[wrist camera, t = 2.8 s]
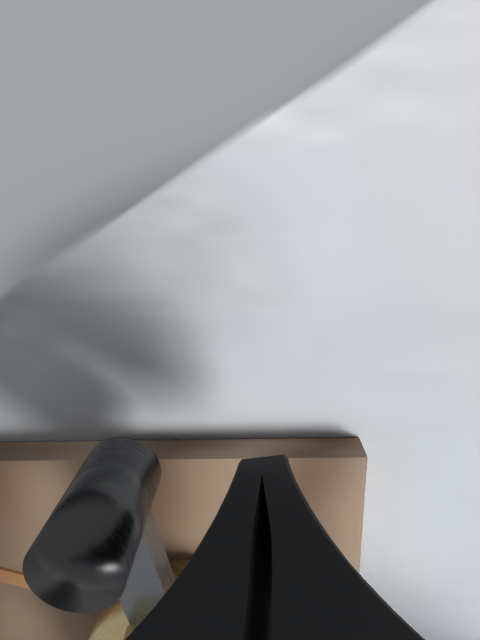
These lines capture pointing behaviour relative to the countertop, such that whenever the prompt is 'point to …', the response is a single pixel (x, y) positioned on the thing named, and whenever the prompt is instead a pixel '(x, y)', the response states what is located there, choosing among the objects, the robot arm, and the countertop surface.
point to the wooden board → (162, 507)
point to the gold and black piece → (105, 542)
